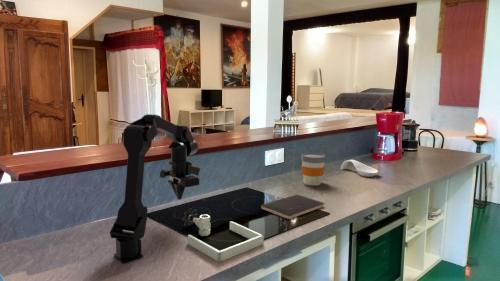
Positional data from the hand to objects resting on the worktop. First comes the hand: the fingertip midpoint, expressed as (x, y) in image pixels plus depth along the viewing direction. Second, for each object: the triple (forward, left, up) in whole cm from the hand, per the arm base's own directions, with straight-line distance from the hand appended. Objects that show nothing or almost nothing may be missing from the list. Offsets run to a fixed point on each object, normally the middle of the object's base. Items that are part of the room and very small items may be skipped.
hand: (179, 199), depth 143 cm
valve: (0, -12, -9) cm, 15 cm away
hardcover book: (+44, -19, -9) cm, 49 cm away
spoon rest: (+119, -6, -9) cm, 120 cm away
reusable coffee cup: (+81, -1, -9) cm, 82 cm away
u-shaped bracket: (0, -27, -8) cm, 29 cm away
